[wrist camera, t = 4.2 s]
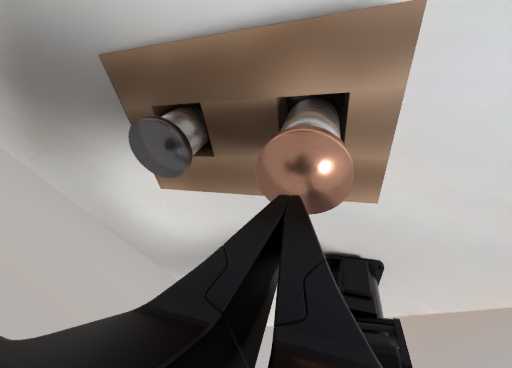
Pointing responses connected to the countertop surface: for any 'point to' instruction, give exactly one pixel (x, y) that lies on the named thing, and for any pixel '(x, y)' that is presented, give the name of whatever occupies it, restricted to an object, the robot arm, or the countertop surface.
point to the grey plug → (169, 140)
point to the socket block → (277, 89)
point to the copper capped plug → (307, 158)
